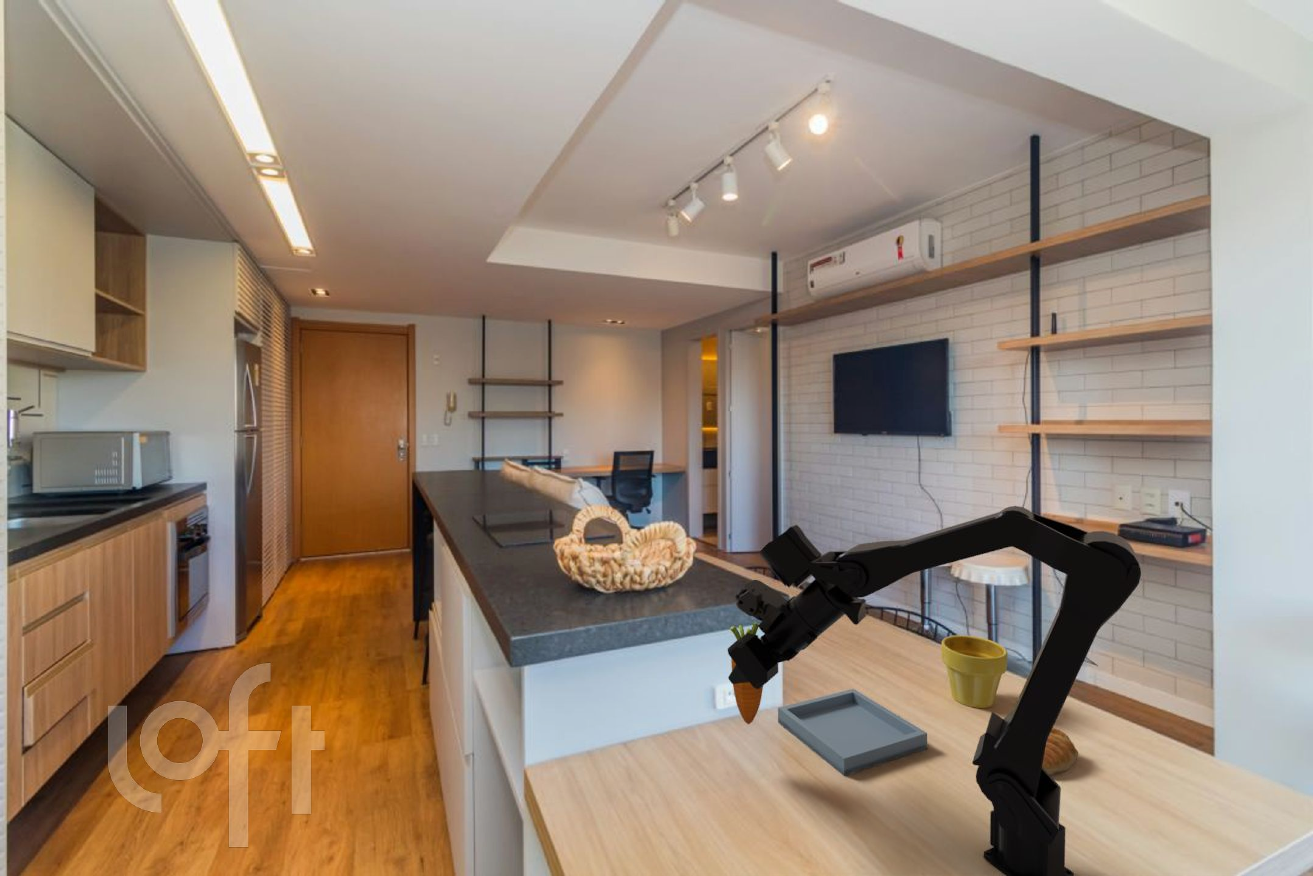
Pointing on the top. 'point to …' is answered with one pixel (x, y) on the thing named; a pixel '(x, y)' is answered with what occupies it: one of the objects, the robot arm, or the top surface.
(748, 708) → the carrot
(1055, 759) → the pastry
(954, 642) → the plant pot
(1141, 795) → the top surface
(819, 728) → the tray
